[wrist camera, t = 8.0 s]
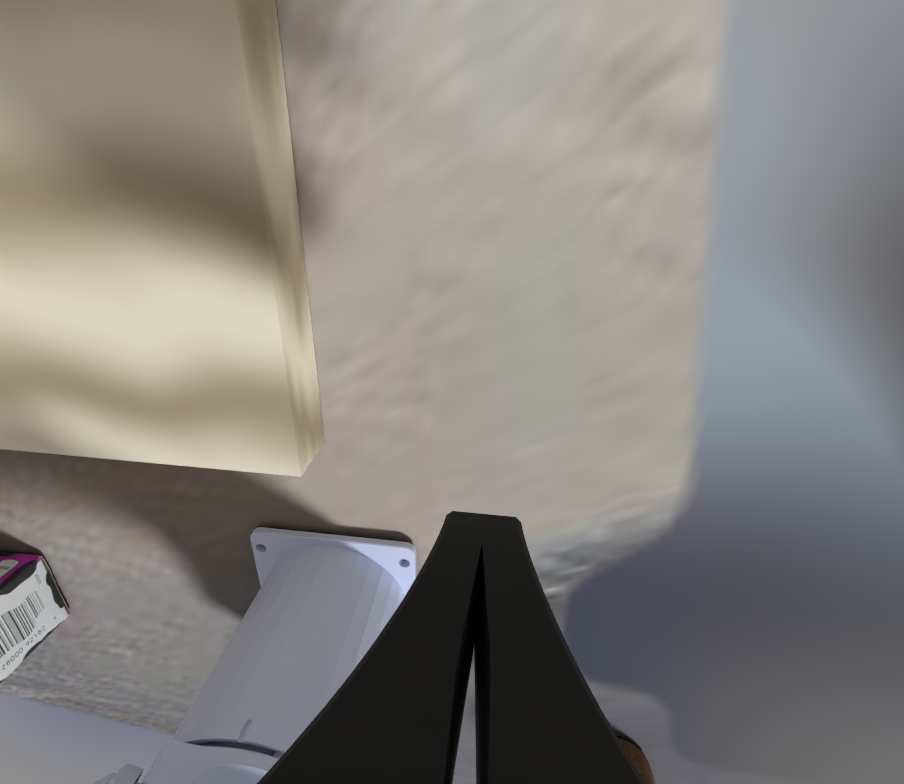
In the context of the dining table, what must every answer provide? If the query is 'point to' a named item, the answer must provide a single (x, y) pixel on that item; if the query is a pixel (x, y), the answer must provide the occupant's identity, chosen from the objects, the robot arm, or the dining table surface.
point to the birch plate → (152, 237)
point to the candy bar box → (26, 607)
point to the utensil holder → (638, 761)
